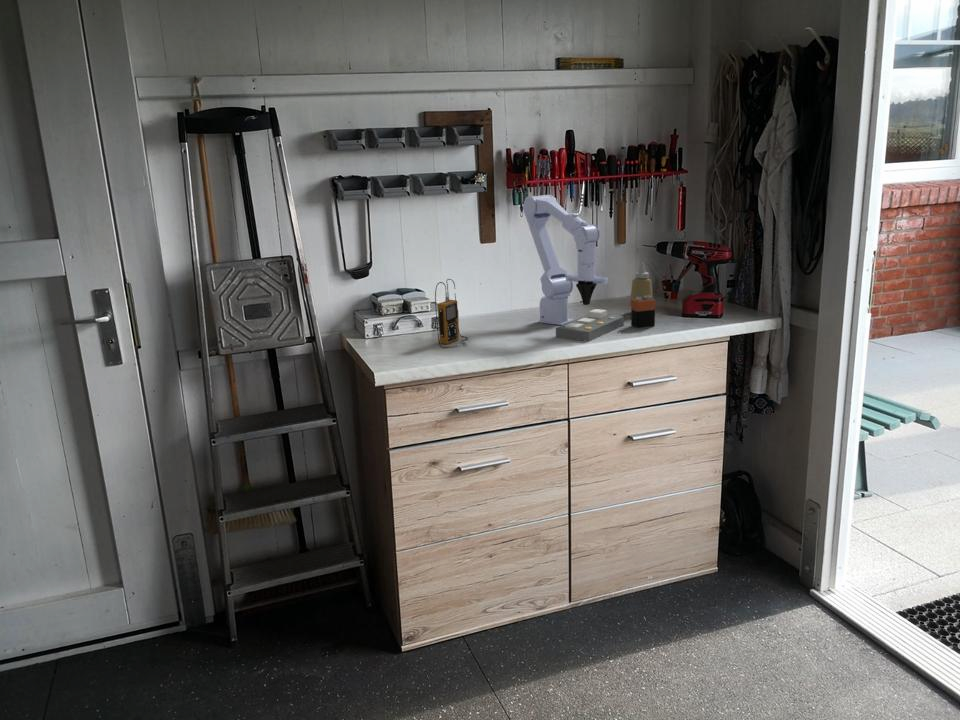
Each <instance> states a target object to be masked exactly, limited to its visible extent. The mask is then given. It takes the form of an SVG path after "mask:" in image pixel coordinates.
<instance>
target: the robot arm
mask: <svg viewBox="0 0 960 720" xmlns="http://www.w3.org/2000/svg"><path fill="white" fill-rule="evenodd" d="M522 209H523V213H524V216H525V219H526V222H527V225H528V228H529V231H530V233H531V236H532V239H533V242H534V245H535V247H536V252H537V254H538V257H539V261H540V263H541V265H542V269H543V271H544V272H543V274H542V275H541V277H540V279H539V280H540V283H541V292H542V293H543V296H542V297H541V298H540V300H539V320H538V323H541V324H550V325H556V326H557V325H558V326H561V325H564V324H566V323H569V322H571V321H574V319H573V318H569V297H570V296H571V293H572V292H573V290H574V282H575V283H576V282H577V283H576V285H575V286H576V288H577V290H578V293H579V295H580V297H581V300H582V301H581V302H582V305H584V306H588V305H590V304H591V300H592V296H593V293H594V291H595V288H596V287H597V284H599V285H603V286H604V285H608V284H609V277H605V276H604V277H603V276H598V275H596V257H597V256H596V252H597V251H596V250H597V249H596V243H597V242H598V241H599V239H600V230H599V227H597V224H593V223H592V224H589V223H587V221H586V220H584V219H582V218H580V216H579V214H578V213H576V212H575V213H573V212H570V213H569V212H568V211H567V210H565V208H564V207H562V205H560V204H559V203H558V201H557V198H556V197H555V196H553V195H552V194H543V195H528V196H527V197H525V199H524V203H523V205H522ZM551 217H553V218H555V219H557V220H558V221H560V222H561V226H562V227H563V229H564V230H565V231H567V232H568V233H569V234H570V235H572V236H573V240H574V242H575V247H576V248H575V249H576V250H577V274H569V273H568V271H567V270H566V269H564V268H562V267H561V266H560V264H559V261H558V259H557V255H556V252H555V250H554V247H553V244H552V241H551V237H550V235H549V233H548V229H547V227H546V224H547V223H548V221H550V218H551Z"/></svg>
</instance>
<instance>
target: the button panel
mask: <svg viewBox="0 0 960 720" xmlns="http://www.w3.org/2000/svg"><path fill="white" fill-rule="evenodd" d="M582 318H589V313H588V314H586V315H584V316H582V317H578V318H576V319H573V321H571V322H568V323H566V324H564V325H558V326H557V327H555V337H556V336H557V337H556V338H561V337H564V338H563V339H568V338H571V339H570V340H576V339H579V340H578V341H583V340H586V341H585V342H591V341H593V340H595V339H597V338H599V337H602V336H604V335H606V334H608V333H611V332H612V331H615V330H616V328H617V329H619V328H621V327H623V326H624V325H625V321H624V320H625V317H624V316H622V315H611V314H607V317H605V318H602V319H597V318H590V319H596V321H595V322H593V323H591V324H586V323H578V322H577V320H580V319H582ZM570 323H578V324H584V327H581V328H579V329H572V328H565V325H568V324H570ZM620 326H621V327H620ZM618 327H619V328H618ZM614 329H615V330H614ZM607 332H608V333H607ZM605 333H606V334H605ZM603 334H604V335H603ZM601 335H602V336H601ZM592 339H593V340H592ZM590 340H591V341H590Z"/></svg>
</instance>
